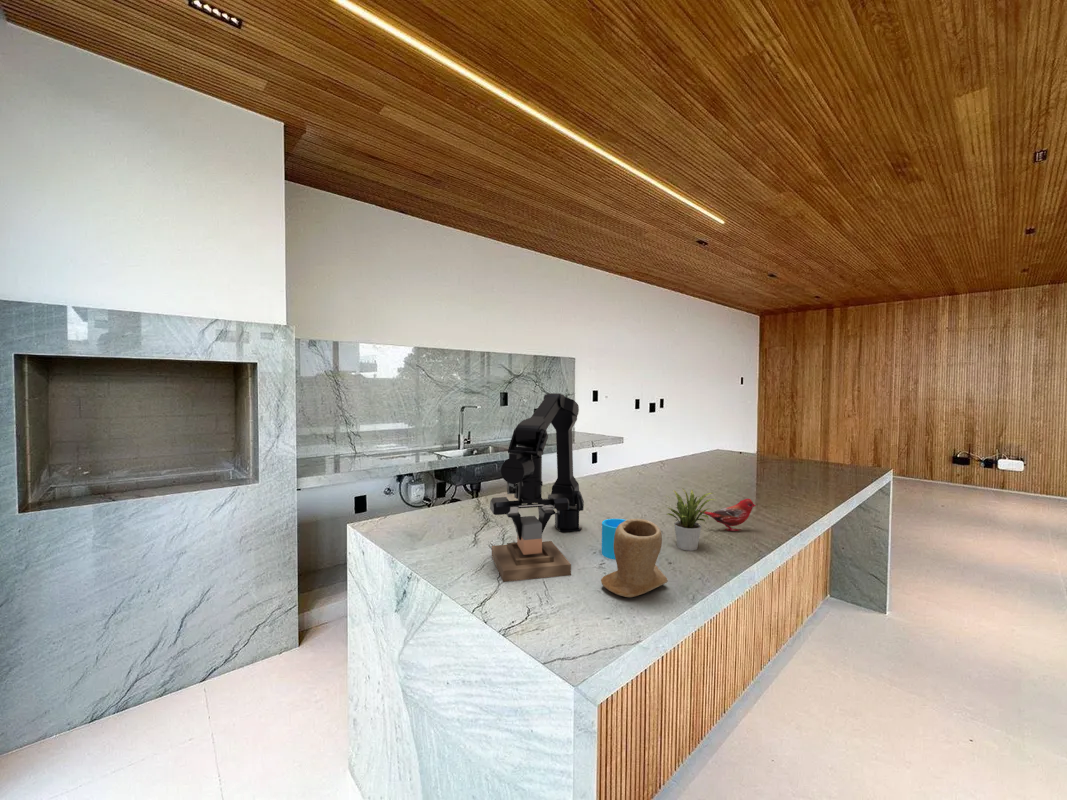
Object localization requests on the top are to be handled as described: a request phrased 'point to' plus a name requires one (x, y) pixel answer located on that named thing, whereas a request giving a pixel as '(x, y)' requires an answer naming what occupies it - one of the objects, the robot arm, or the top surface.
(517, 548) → the walnut cradle stand
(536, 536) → the block
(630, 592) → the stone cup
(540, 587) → the top surface
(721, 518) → the decorative bird figurine
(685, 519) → the house plant
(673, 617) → the top surface
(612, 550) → the mug
